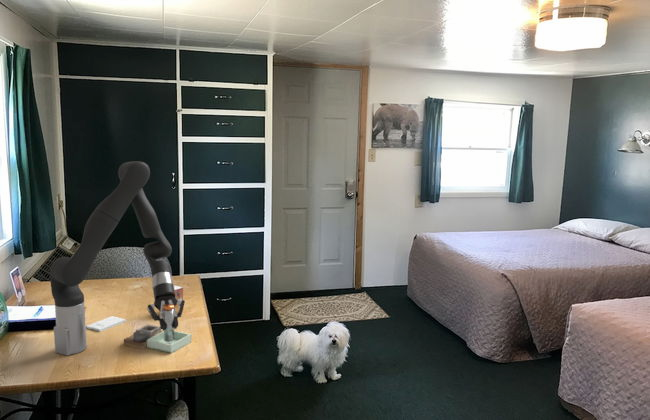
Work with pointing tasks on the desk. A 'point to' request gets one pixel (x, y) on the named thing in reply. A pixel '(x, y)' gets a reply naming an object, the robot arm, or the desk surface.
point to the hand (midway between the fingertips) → (169, 328)
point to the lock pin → (168, 322)
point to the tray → (169, 347)
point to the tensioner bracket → (142, 336)
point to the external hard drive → (105, 323)
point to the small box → (178, 296)
